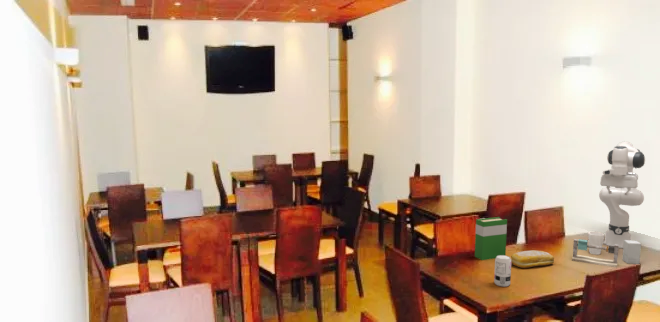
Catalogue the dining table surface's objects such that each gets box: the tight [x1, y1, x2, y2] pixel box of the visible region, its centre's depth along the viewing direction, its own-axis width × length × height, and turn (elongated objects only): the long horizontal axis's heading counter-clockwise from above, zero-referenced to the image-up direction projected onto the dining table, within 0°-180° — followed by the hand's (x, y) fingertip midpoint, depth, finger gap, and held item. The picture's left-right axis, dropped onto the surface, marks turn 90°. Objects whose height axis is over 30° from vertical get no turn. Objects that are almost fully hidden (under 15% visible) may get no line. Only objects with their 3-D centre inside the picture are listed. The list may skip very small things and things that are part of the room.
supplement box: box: [622, 239, 642, 265], centre depth 307 cm, size 7×7×13 cm
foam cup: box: [587, 230, 606, 256], centre depth 324 cm, size 10×9×13 cm
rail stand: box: [571, 238, 619, 268], centre depth 307 cm, size 10×24×12 cm, turn 59°
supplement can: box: [493, 255, 512, 288], centre depth 270 cm, size 8×8×15 cm
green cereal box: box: [474, 216, 508, 261], centre depth 316 cm, size 18×7×24 cm, turn 111°
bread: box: [510, 249, 555, 269], centre depth 302 cm, size 13×26×8 cm, turn 112°
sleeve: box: [577, 238, 589, 251], centre depth 310 cm, size 4×5×5 cm
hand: (618, 194), depth 313 cm, fingers open, 8 cm apart
